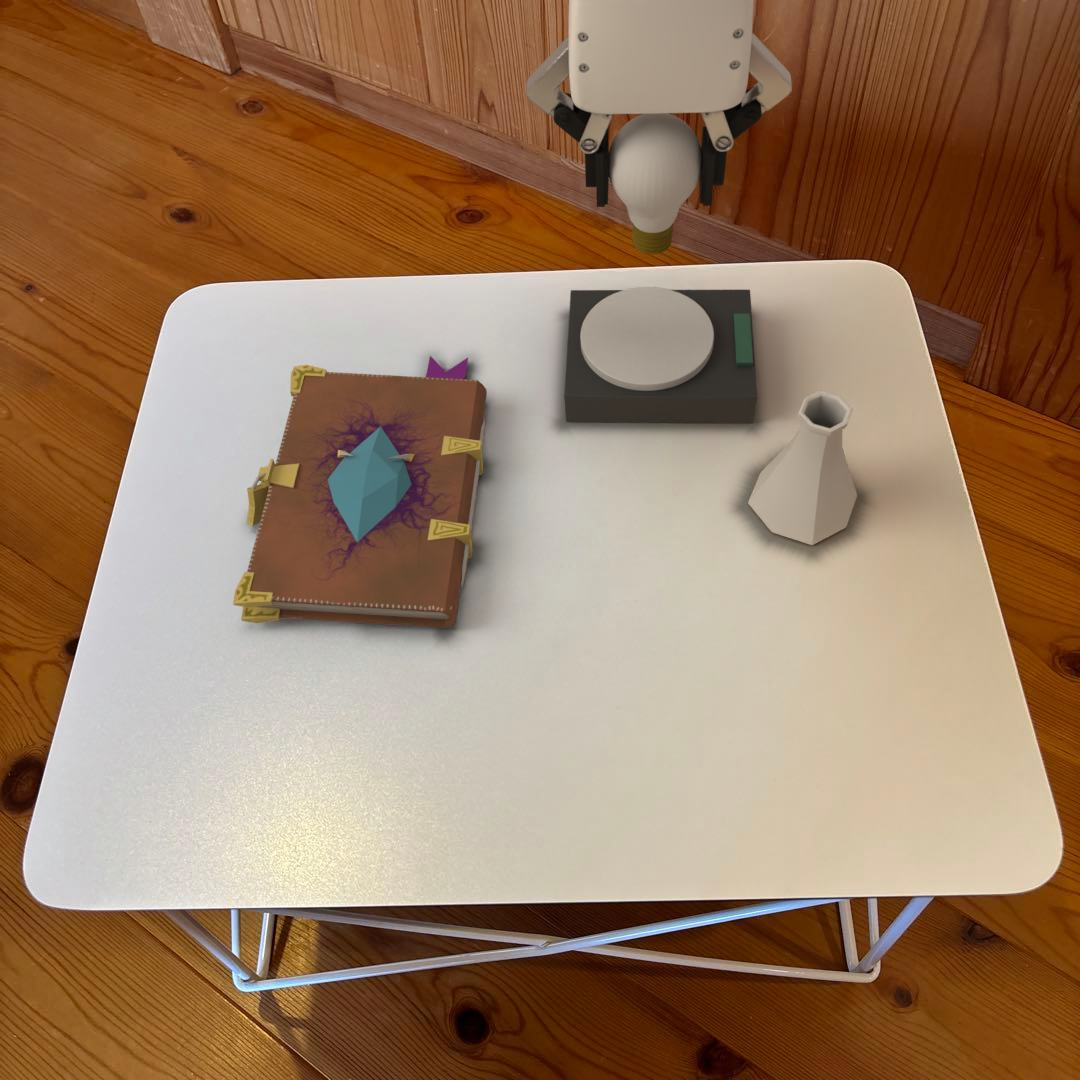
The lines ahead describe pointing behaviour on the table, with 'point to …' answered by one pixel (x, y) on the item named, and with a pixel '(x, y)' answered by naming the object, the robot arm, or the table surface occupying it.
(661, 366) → the scale
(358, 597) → the book
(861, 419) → the table surface
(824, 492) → the flask
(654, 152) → the light bulb
